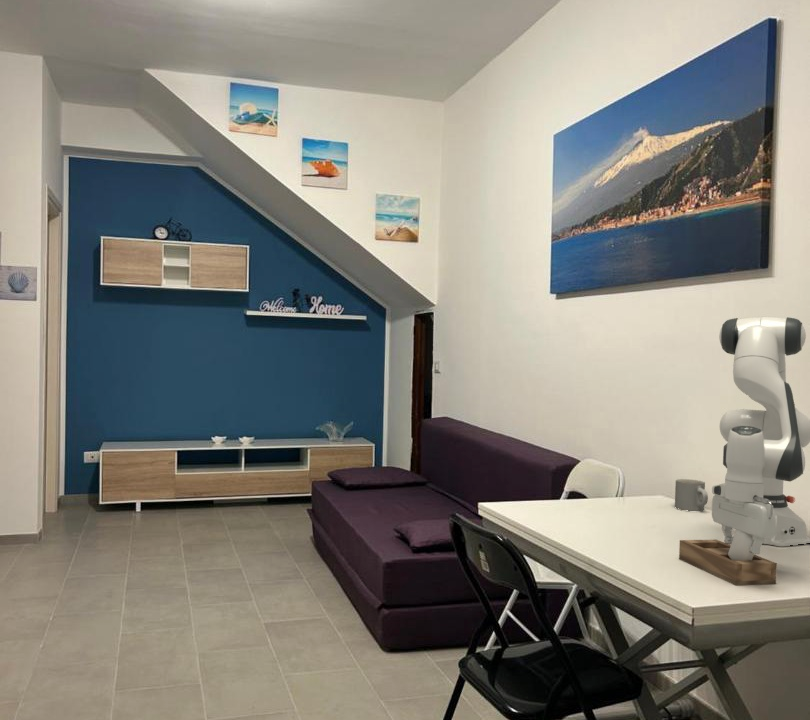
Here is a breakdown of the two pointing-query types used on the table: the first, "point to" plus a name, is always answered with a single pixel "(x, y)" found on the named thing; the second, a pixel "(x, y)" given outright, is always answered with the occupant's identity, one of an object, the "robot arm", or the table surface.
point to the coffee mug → (690, 495)
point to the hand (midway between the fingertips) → (741, 548)
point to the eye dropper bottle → (741, 547)
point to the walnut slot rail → (727, 563)
